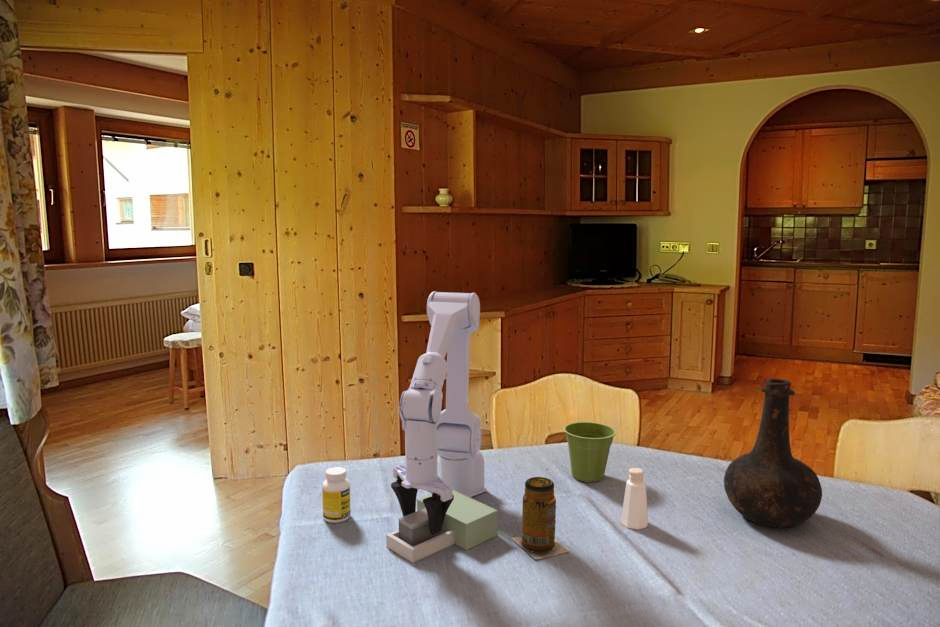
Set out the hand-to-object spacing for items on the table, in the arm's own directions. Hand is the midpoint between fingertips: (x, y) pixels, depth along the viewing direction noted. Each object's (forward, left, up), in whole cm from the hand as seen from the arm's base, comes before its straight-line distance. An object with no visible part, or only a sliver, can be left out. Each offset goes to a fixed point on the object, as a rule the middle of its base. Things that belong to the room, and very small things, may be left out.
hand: (422, 525), depth 122 cm
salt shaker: (-35, +22, -4) cm, 42 cm away
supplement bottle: (+6, -20, -4) cm, 21 cm away
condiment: (-15, +15, -4) cm, 22 cm away
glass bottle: (-57, +39, -4) cm, 70 cm away
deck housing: (-4, 0, -4) cm, 5 cm away
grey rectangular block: (0, 0, -3) cm, 3 cm away
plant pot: (-47, +2, -4) cm, 48 cm away
